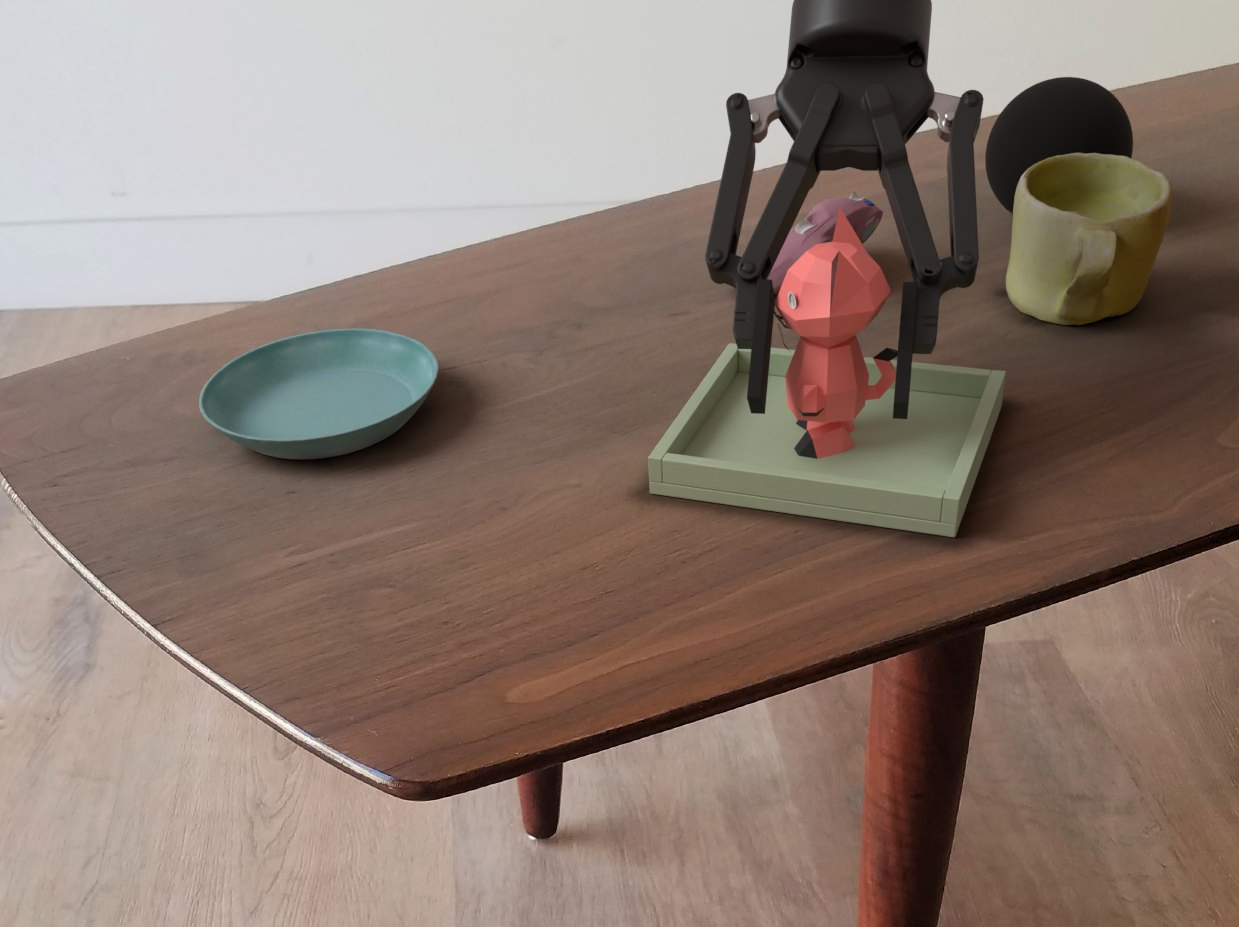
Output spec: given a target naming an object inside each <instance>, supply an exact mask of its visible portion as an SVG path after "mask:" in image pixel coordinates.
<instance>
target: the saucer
mask: <svg viewBox="0 0 1239 927" xmlns="http://www.w3.org/2000/svg"><path fill="white" fill-rule="evenodd" d="M438 362H439V361H438V359H437V357H436V355H435V353H434V352H433V351H432V350H431V348H429V347H428V346H427V345H426V344H423V343H422V342H421V341H419V340H417V339H414V338H412V337H410V336H407V335H406V334H405V335H403V334H399V333H396V332H393V331H388V330H382V329H374V328H373V329H371V328H361V327H360V328H357V327H356V328H333V329H332V328H331V329H324V330H319V331H311V332H306V333H305V332H304V333H300V334H295V335H291V336H287V337H284V338H280V339H278V340H274V341H271V342H268V343H266V344H263V345H260V346H257V347H255V348H253V349H251V350H249V351H246V352H243V354H240V355H239V356H237V357H235V358H233V359H232V360H230V361H228V362H227V363H225V364H224V365H223V366H222V367H220V368H219V369H218V370H217V371H216V372H214V373H213V375H211V377H210V378H209V379H208V380H207V381H206V383H205V384H204V385H203V388H201V391H200V395H199V398H198V407H199V411H200V413H201V415H202V417H203V419H205V420H206V422H207V423H209V424H210V425H211V426H212V427H213V428H214V429H215V430H217V431H218V432H220V434H222V435H223V436H225V437H226V438H227V439H230V440H231V441H233V442H234V443H237V444H239V445H241V446H243V447H245V448H247V449H248V450H249V449H250V450H253V451H254V452H256V453H260V454H262V455H265V456H268V457H273V458H278V459H286V460H320V459H328V458H333V457H339V456H344V455H347V454H350V453H354V452H357V451H360V450H363V449H366V448H369V447H370V446H373V445H375V444H377V443H379V442H380V443H381V441H383V440H385V439H387V438H388V437H391V436H392V435H393V434H395V433H396V432H397V431H398V430H400V429H401V428H402V427H404V425H406V423H407V422H408V421H409V420H410V419H411V418H412V417H413V416H414V415H415V414H416V412H418V410H419V409H420V407H422V405H423V403H424V402H425V401H426V399H427V398H428V396H429V395H430V392H431V391H432V389H433V388H434V385H435V383H436V380H437V378H438V374H439V363H438Z"/></svg>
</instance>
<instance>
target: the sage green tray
mask: <svg viewBox="0 0 1239 927" xmlns="http://www.w3.org/2000/svg"><path fill="white" fill-rule="evenodd" d="M788 349H789V348H788ZM788 349H787V348H780V347H771V352H770V363H769V374H768V385H767V396H766V407H765V414H755V413H751V411H750V407H749V404H748V400H747V391H748V380H749V369H750V358H751V349H738V347H737V344H736V343H733V342H729V343H728V344H727V345H726V347H725V349H724V350H722V351H723V352H722V353H721V354H720V356H718V358H717V359H716V361H715V363H714V364H713V365H712V366H711V368H710V369H709V371H708V372H707V374H706V375H705V376H704V378H703V379H702V380H701V382H700V383H699V385H698V386H697V388H696V389H695V391H694V392H693V393H692V394H691V397H690V398H689V399H688V400H687V402H686V403H685V404H684V405H683V408H682V409H681V410H680V412H679V413H678V414H677V416H676V417H675V418H674V420H673V422H672V423H671V424H670V426H669V427H668V429H667V430H666V431H665V433H664V434H663V435H662V437H661V438H660V440H659V441H658V443H657V444H656V446H655V447H654V448H653V450H652V451H651V452H650V453H649V455H648V456H647V463H648V465H647V467H648V481H649V482H648V483H649V484H648V485H649V494H650V495H657V496H665V497H671V498H679V499H686V500H693V501H699V502H700V501H701V502H708V503H713V504H721V505H728V506H734V507H741V508H746V509H753V510H763V511H768V512H775V513H783V514H790V515H795V516H802V517H810V518H817V519H825V520H831V521H837V522H844V523H852V524H858V525H865V526H872V527H879V528H887V529H893V530H899V531H906V532H907V531H908V532H914V533H922V534H926V535H927V534H929V535H935V536H942V537H948V538H956V536H957V533H958V531H959V528H960V525H961V522H962V519H963V517H964V514H965V511H966V509H967V504H968V502H969V499H970V497H971V494H972V491H973V488H974V486H975V483H976V480H977V477H978V474H979V471H980V469H981V465H982V463H983V460H984V458H985V454H986V452H987V449H988V446H989V444H990V440H991V439H992V438H991V437H992V435H993V432H994V429H995V427H996V423H997V420H998V417H999V415H1000V412H1001V409H1002V406H1003V398H1004V396H1003V395H1004V391H1005V384H1006V383H1005V382H1006V374H1007V371H1006V370H998V369H986V368H977V367H966V366H958V365H957V366H956V365H948V364H947V365H946V364H937V363H928V362H918V361H917V362H916V361H912V368H911V380H910V393H909V406H908V416H907V419H893V407H894V393H895V382H894V383H893V384H892V385H891V386H890V387H889V389H888V390H887V391H886V392H885V393H884V394H883V395H882V397H881V398H880V399H873V400H866V402H865V406H864V408H863V409H862V410H861V411H860V413H859V414H858V415H857V417H856V418H855V419H854V420H852V422H853V424H854V426H855V428H854V429H853V431H852V432H847V433H848V434H849V436H850V438H851V439H852V441H853V443H854V444H855V446H853V447H851V448H850V449H848V450H846V451H844V452H842V453H838V454H834V455H830V456H826V457H823V458H819V459H816V458H810V457H803V456H798V454H797V453H796V451H795V449H794V448H795V446H796V445H797V444H798V442H799V441H800V439H801V438H802V437H803V435H804V434H805V433H806V430H805V429H803V428H802V427H800V426H799V425H797V424H796V422H797V421H798V420H797V419H796V417H795V416H794V414H793V413H792V412H791V410H790V409H789V407H788V406H787V394H786V380H785V375H786V372H787V370H788V367H789V365H790V362H791V360H792V357H793V355H794V352H795V350H796V349H792V348H791V349H789V350H788ZM863 357H864V360H865V364H866V367H867V370H868V373H869V382H868V385H876V383H877V382H878V381H879V379H880V378H881V377H882V374H881V372H880V370H879V369H878V367H877V365H876V363H875V361H874V360H873V357H869V356H863ZM890 361H891V362H892V364H893V366H894V368H895V369H896V368H897V359H892V360H890ZM895 381H896V380H895Z"/></svg>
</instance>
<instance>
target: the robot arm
mask: <svg viewBox="0 0 1239 927" xmlns="http://www.w3.org/2000/svg"><path fill="white" fill-rule="evenodd" d="M932 13H933V3H932V0H793V2H792V6H791V13H790V27H789V35H788V36H789V37H788V47H787V48H788V49H787V57H786V58H787V59H786V69H785V73H784V75H783V78H782V79H781V80H780V82H779V84H778V85H777V87H776V89H775V92H774V93H772V94H769V95H764V96H759V97H756V98H752V99H748V96H747V95H745V94H744V93H741V92H735V93H732V94H731V95H730V96H728V97H727V99H726V101H725V108H726V114H727V119H728V120H727V121H728V126H729V131H730V136H729V140H728V146H727V150H726V154H725V160H724V164H723V168H722V174H721V178H720V183H719V188H718V192H717V197H716V202H715V206H714V211H713V216H712V220H711V226H710V231H709V236H708V240H707V245H706V249H705V255H704V258H705V264H706V266H707V271H708V273H709V277H710V279H711V281H712V282H713V283H714V284H717V285H723V284H725V285H728V286H730V287H732V288H734V290H735V302H734V314H733V322H732V323H733V324H732V333H733V337H734V341H735V344H737V347H738V349H751V358H750V369H749V380H748V391H747V400H748V404H749V407H750V411H751V413H755V414H765V407H766V396H767V385H768V374H769V363H770V352H771V348H772V339H773V327H774V319H775V318H774V317H775V314H774V313H772V311H771V309H770V308H771V305H772V306H773V308H774V309H775V308H776V306H775V305H774V304H775V301H776V294H775V293H774V289H773V283H772V280H769V279H767V278H768V276H769V274H770V272H771V270H772V268H773V266H774V264H775V262H776V259H777V257H778V255H779V253H780V251H781V249H782V247H783V245H784V243H785V240H786V238H787V236H788V234H789V232H790V230H791V229H792V228H793V227H794V223H795V221H796V219H797V217H798V215H799V214H800V211H801V209H802V207H803V205H804V203H805V200H806V198H807V197H808V194H809V192H810V191H811V189H813V188H814V186H815V184H816V182H817V180H818V178H819V175H820V173H821V172H828V171H829V172H832V171H833V172H834V171H839V170H843V169H847V168H851V169H855V170H859V171H864V172H869V171H873V172H874V171H877V172H878V175H879V178H880V182H881V185H882V187H883V189H884V190H885V193H886V197H887V199H888V203H889V206H890V210H891V213H892V216H893V220H894V223H895V225H896V229H897V232H898V235H899V239H900V242H901V245H902V248H903V252H904V254H905V258H906V261H907V264H908V268H909V271H910V275H911V277H912V280H913V281H903V282H902V293H901V305H900V306H901V307H900V319H899V330H898V342H897V343H898V345H897V350H898V355H897V357H896V360H897V368H896V381H895V393H894V407H893V419H907V416H908V406H909V393H910V380H911V368H912V362H913V355H932V353H933V351H934V349H935V347H936V345H937V338H938V328H939V327H938V326H939V325H938V324H939V314H940V300H941V297H942V296H943V295H944V294H945V293H946V292H948V291H950V290H953V289H956V288H959V289H966V288H969V287H970V286H972V285H973V284H974V282H975V281H976V280H975V279H976V275H977V270H978V265H979V261H980V260H979V257H980V256H979V255H980V254H979V233H978V230H979V229H978V216H977V215H978V212H977V211H978V210H977V190H976V188H977V187H976V168H975V167H976V166H975V148H974V146H975V145H974V144H975V141H976V137H977V135H978V132H979V129H980V126H981V125H980V124H981V120H982V119H981V118H982V113H983V105H984V96H983V93H981V91H979V90H977V89H968V90H966V91H964V92H963V93H962V94H961V96H956V95H951V94H947V93H943V92H938V91H935V86H934V83H933V82H932V81H931V78H930V76H929V73H928V63H929V50H930V39H931V36H930V35H931V25H932ZM928 119H932V120H933V121H934V122H935V123H936V128H937V131H936V132H937V136H938V138H939V139H940V140H942V141H943V142H944V143H948V147H947V157H946V171H947V172H946V175H947V196H948V199H947V200H948V218H949V219H948V220H949V242H950V243H949V244H950V256H947V257H945V258H941V259H940V258H939V254H938V250H937V247H936V244H935V241H934V238H933V235H932V232H931V229H930V226H929V222H928V220H927V216H926V213H925V209H924V206H923V204H922V200H921V197H920V194H919V191H918V188H917V185H916V181H915V178H914V175H913V172H912V168H911V165H910V162H909V157H908V151H907V147H906V144H907V143H908V142H909V141H910V140H911V138H912V137H913V136H914V135H915V134H916V133H917V131H919V129H920V128H921V127H922V126H923V125H924V123H925V122H926V121H927V120H928ZM775 120H778V121H779V122H780V123H781V124H782V126H783V128H784V129H785V130H786V132H787V133H788V135H789V136H790V138H791V139H792V140H793V143H792V145H791V146H790V149H789V152H788V156H787V161H786V164H785V165H784V168H783V170H782V171H781V173H780V176H779V178H778V180H777V182H776V184H775V186H774V188H773V190H772V193H771V195H770V197H769V199H768V201H767V203H766V206H765V208H764V209H763V212H762V214H761V216H760V217H759V220H758V222H757V224H756V226H755V228H754V230H753V233H752V235H751V237H750V238H749V240H748V243H747V245H746V247H745V250H744V252H743V254H742V256H740V255H737V250H738V246H739V241H740V236H741V232H742V228H743V223H744V218H745V213H746V207H747V204H748V203H747V202H748V198H749V193H750V189H751V184H752V180H753V174H754V170H755V164H756V157H757V156H756V150H757V149H756V144H760V143H762V142H763V140H765V139H766V138H767V135H768V134H769V133H768V131H769V127H770V125H771V124H772V122H774V121H775Z"/></svg>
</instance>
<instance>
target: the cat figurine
mask: <svg viewBox="0 0 1239 927" xmlns="http://www.w3.org/2000/svg"><path fill="white" fill-rule="evenodd" d="M891 292H892V290H891V288H890V286H889V283H888V282H887V278H886V277H885V274H884V272H883V269H882V268H881V266H880V265H879V264H878V263H877V262H876V261H875V259H873V257H872V256H871V255H870V254H869V253H868V251H867V250H866V248H865V246H864V244H862V243H861V241H860V240H859V238H858V236H857V235H856V233H855V231H854V230H853V228H852V226H851V225H850V223H849V221H848V220H847V218H846V216H845V215H844V213H843V211H842V210H841V208H839V213H838V218H837V222H836V227H835V232H834V236H833V241H832V242H827V243H821V244H816V245H815V246H813V247H812V248H810V249H809V250H807V251H806V252H805V253H804V254H803V255H802V256H801V257H800V258H799V259H798V260H797V261H796V262H795V263H794V264H793V265H792V266H791V267H790V268H789V269H788V271H787V273H786V276H785V278H784V281H783V283H782V286H781V289H780V291H778V294H777V296H776V298H775V304H774V305H775V307H774V308H773V306H772V305H771V308H770V309H771V311H772V313H774V317H775V318H776V319H777V320H778V321H779V322H780V323H781V325H782V326H783V328H784V329H788V330H792V331H793V332H795V333H796V334H798V335H799V336H800V338H799V340H798V343H797V345H796V346H795V347H796V348H795V349H794V350H795V352H794V355H793V357H792V360H791V362H790V365H789V367H788V370H787V372H786V375H785V380H786V394H787V406H788V407H789V409H790V410H791V412H792V413H793V414H794V416H795V417H796V419H797V420H798V421H797V422H796V424H797V425H799V426H800V427H802V428H803V429H805V430H806V433H805V434H804V435H803V437H802V438H801V439H800V441H799V442H798V444H797V445H796V446H795V448H794V449H795V451H796V453H797V454H798V456H803V457H810V458H816V459H819V458H823V457H826V456H830V455H834V454H838V453H842V452H844V451H846V450H848V449H850V448H851V447H853V446H855V444H854V443H853V441H852V439H851V438H850V436H849V434H848V433H847V432H852V431H853V429H854V428H855V426H854V424H853V422H852V420H854V419H855V418H856V417H857V415H858V414H859V413H860V411H861V410H862V409H863V408H864V406H865V402H866V400H873V399H880V398H881V397H882V395H883V394H884V393H885V392H886V391H887V390H888V389H889V387H890V386H891V385H892V384H893V383H894V382H895V380H896V369H895V368H894V366H893V364H892V362H891V361H890V360H895V359H897V355H898V349H895V348H892V347H885V348H884V349H883V350H881V351H880V352H878V353H877V354H876V355H875V356H873V357H872V358H873V360H874V361H875V363H876V365H877V367H878V369H879V370H880V372H881V374H882V377H881V378H880V379H879V381H878V382H877V383H876V385H868V382H869V373H868V370H867V367H866V364H865V360H864V357H865V356H864V355H863V352H862V348H861V345H860V342H859V340H858V336H857V335H858V334H859V333H861V332H862V331H863V330H865V329H866V327H868V326H869V325H870V324H871V322H873V320H874V319H875V318H876V317H878V315H879V314H880V311H881V310H882V309H883V307H884V306H885V303H886V301H887V300H888V298H889V296H890V294H891ZM775 308H776V310H777V311H778V313H779V314H777V313H776V311H775ZM782 320H783V321H784V322H783V321H782ZM779 322H777V325H778V330H779V332H780V335H781V340H782V342H783V346H784V347H785V349H788V350H789V348H788V346H787V345H786V344H785V341H784V337H783V333H782V330H781V327H780V323H779Z"/></svg>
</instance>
